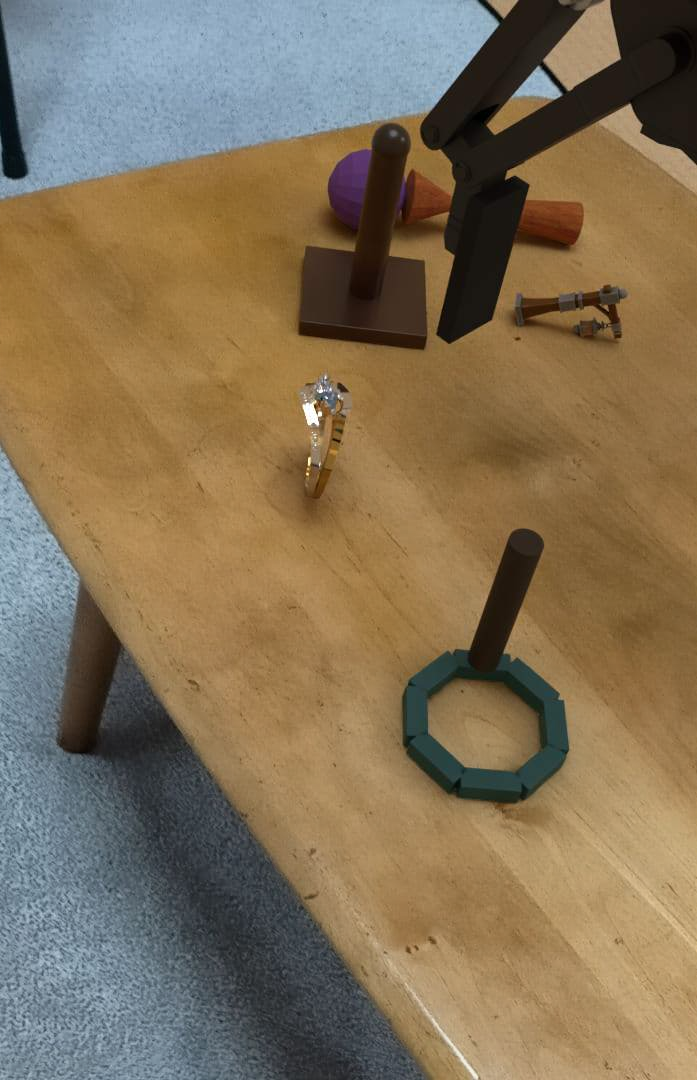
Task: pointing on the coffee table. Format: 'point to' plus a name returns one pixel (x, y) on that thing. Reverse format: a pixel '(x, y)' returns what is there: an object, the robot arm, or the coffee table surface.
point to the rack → (369, 265)
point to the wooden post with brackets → (571, 302)
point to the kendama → (442, 202)
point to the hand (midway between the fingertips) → (591, 420)
